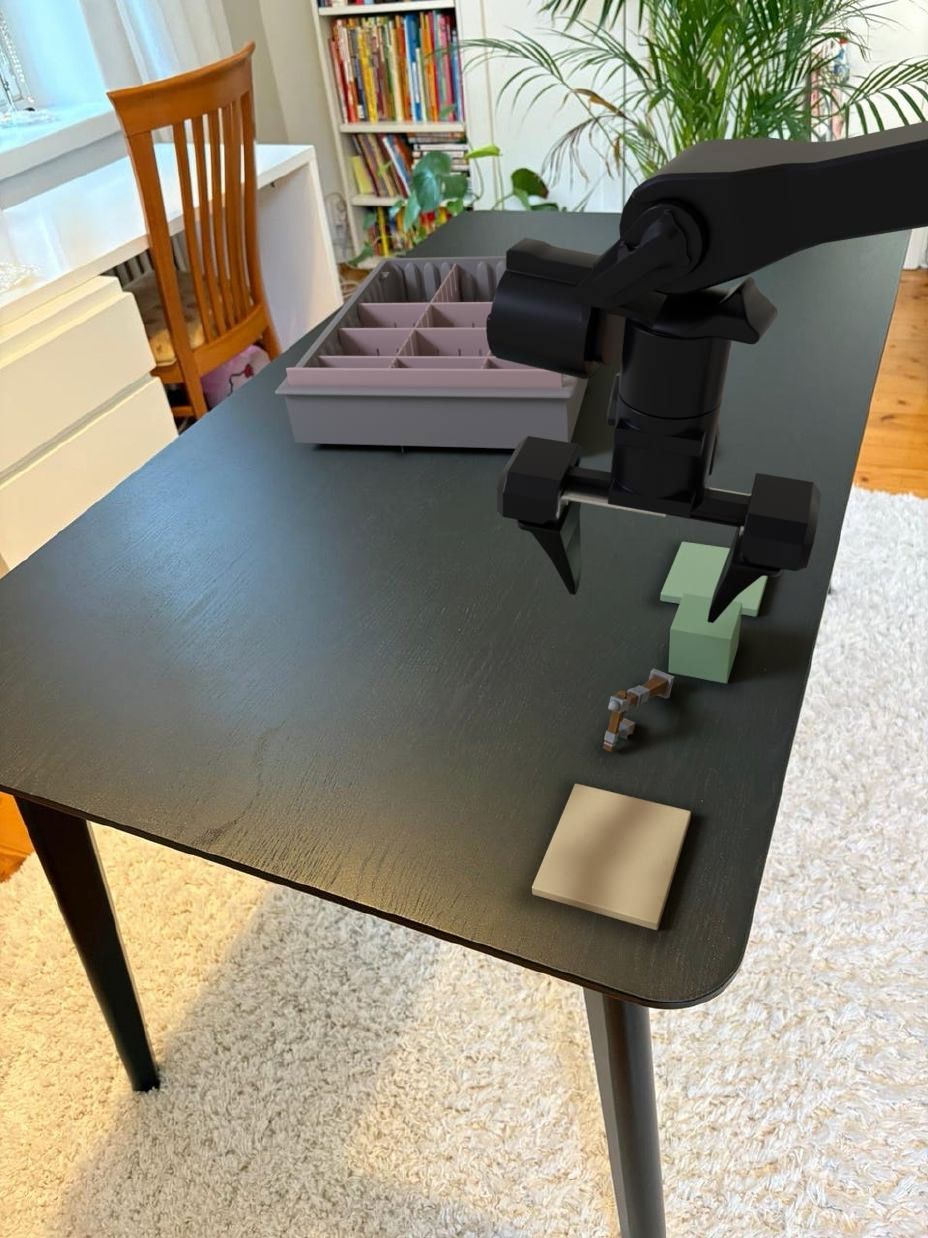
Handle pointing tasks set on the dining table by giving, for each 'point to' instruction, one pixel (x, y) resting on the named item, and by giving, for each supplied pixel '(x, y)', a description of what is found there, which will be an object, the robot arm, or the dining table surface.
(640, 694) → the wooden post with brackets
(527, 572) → the dining table surface
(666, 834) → the birch pad
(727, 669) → the sage block
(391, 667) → the dining table surface
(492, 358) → the organizer tray
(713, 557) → the sage pad
